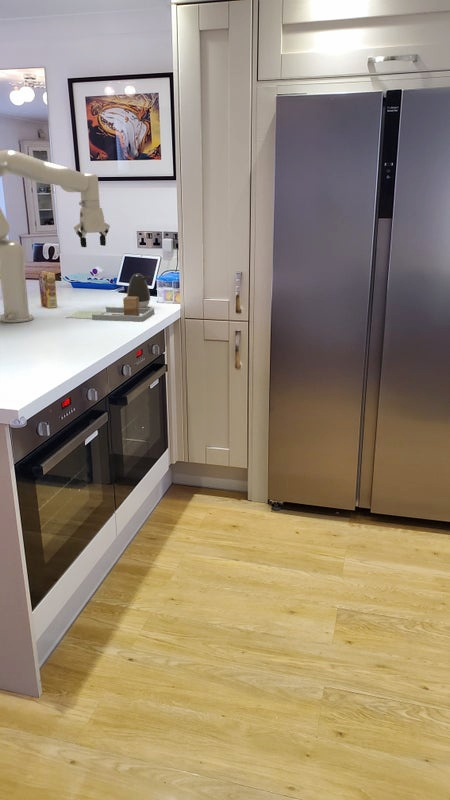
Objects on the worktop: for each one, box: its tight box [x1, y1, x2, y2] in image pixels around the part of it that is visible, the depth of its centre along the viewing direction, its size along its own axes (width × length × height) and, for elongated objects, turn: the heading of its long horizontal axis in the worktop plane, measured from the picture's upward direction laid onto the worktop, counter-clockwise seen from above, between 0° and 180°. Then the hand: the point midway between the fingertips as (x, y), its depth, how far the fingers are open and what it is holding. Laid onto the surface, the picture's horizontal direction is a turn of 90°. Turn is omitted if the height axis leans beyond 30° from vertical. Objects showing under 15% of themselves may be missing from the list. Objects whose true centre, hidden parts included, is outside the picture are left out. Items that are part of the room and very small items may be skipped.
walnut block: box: [111, 295, 140, 316], centre depth 259 cm, size 5×11×8 cm, turn 80°
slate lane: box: [91, 306, 155, 322], centre depth 260 cm, size 17×21×2 cm
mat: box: [65, 310, 107, 320], centre depth 263 cm, size 14×12×1 cm
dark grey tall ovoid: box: [126, 272, 151, 308], centre depth 277 cm, size 10×10×15 cm
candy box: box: [38, 270, 58, 309], centre depth 280 cm, size 9×4×15 cm, turn 39°
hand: (93, 246), depth 268 cm, fingers open, 9 cm apart
